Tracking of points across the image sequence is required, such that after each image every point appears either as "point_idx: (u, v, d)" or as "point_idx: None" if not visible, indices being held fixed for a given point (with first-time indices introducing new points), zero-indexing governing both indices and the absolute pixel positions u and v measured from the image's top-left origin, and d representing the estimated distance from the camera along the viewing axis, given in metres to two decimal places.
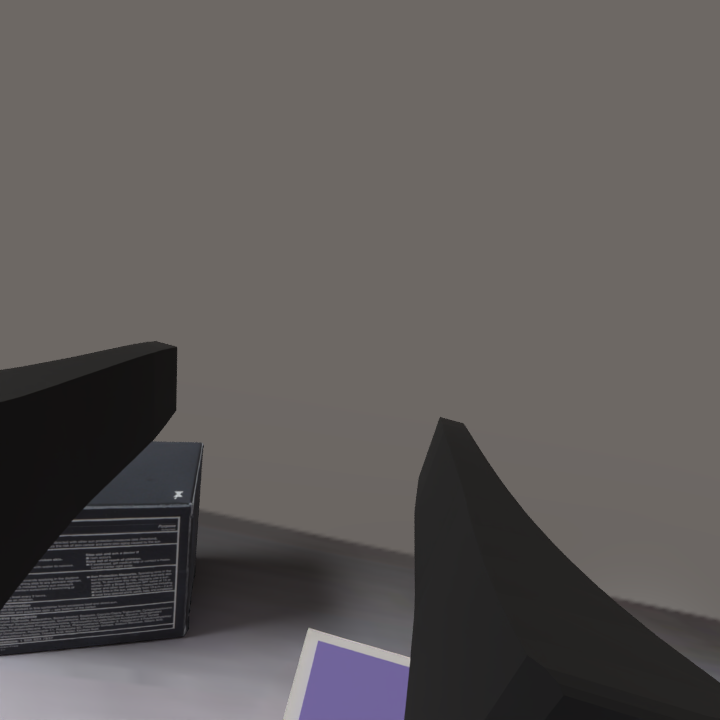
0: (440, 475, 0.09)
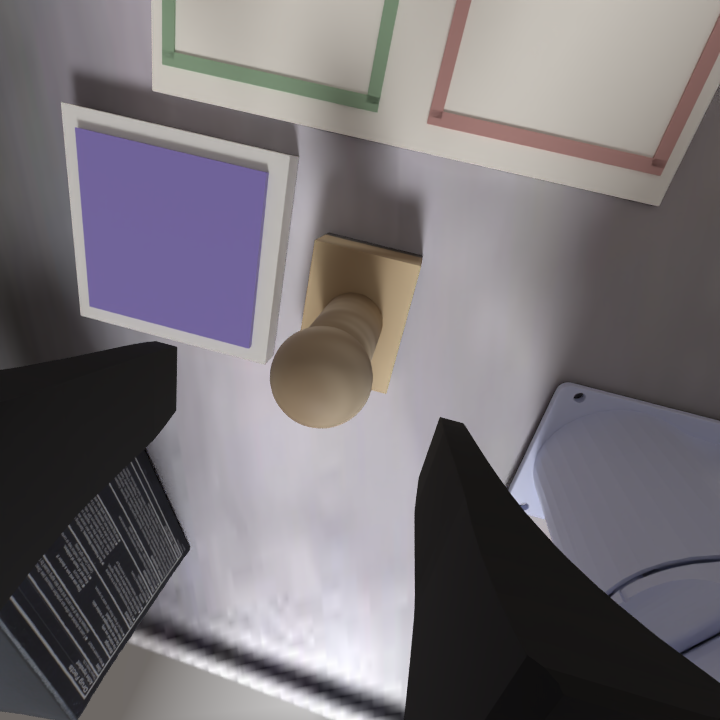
0: (440, 475, 0.09)
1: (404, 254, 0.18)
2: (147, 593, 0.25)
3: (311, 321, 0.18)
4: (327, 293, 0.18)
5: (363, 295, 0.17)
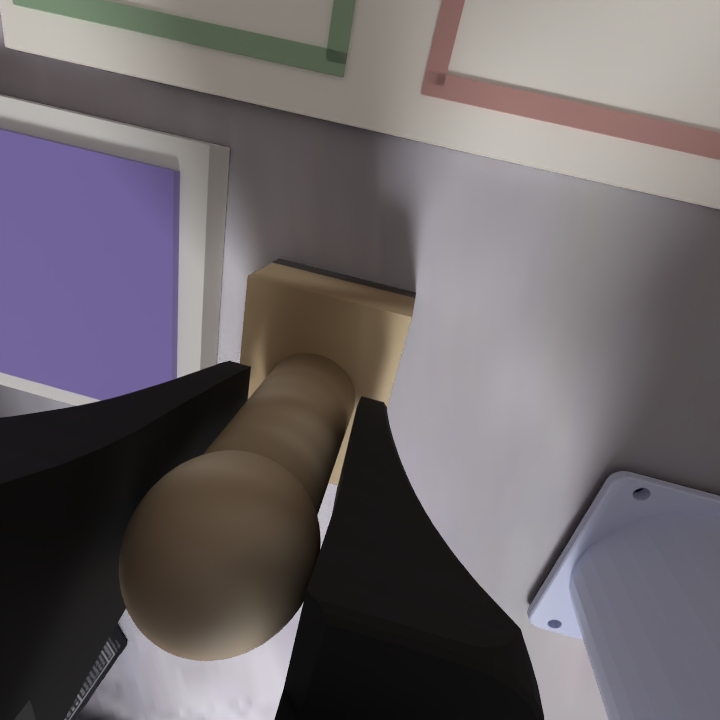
0: (347, 450, 0.09)
1: (388, 293, 0.12)
2: None
3: (250, 392, 0.12)
4: (271, 353, 0.12)
5: (325, 358, 0.11)
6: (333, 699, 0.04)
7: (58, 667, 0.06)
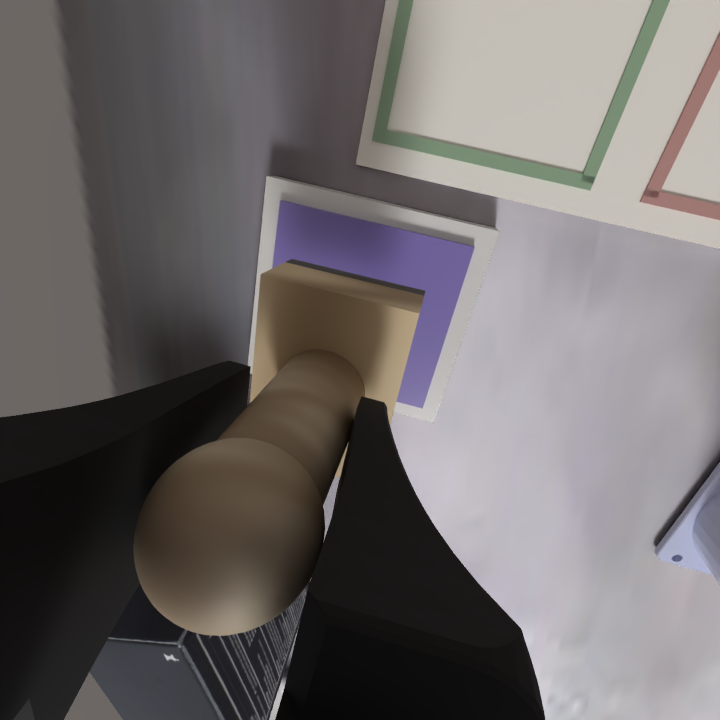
0: (348, 450, 0.09)
1: (397, 290, 0.12)
2: (288, 639, 0.25)
3: (263, 387, 0.13)
4: (283, 350, 0.12)
5: (335, 354, 0.12)
6: (334, 699, 0.04)
7: (57, 667, 0.06)
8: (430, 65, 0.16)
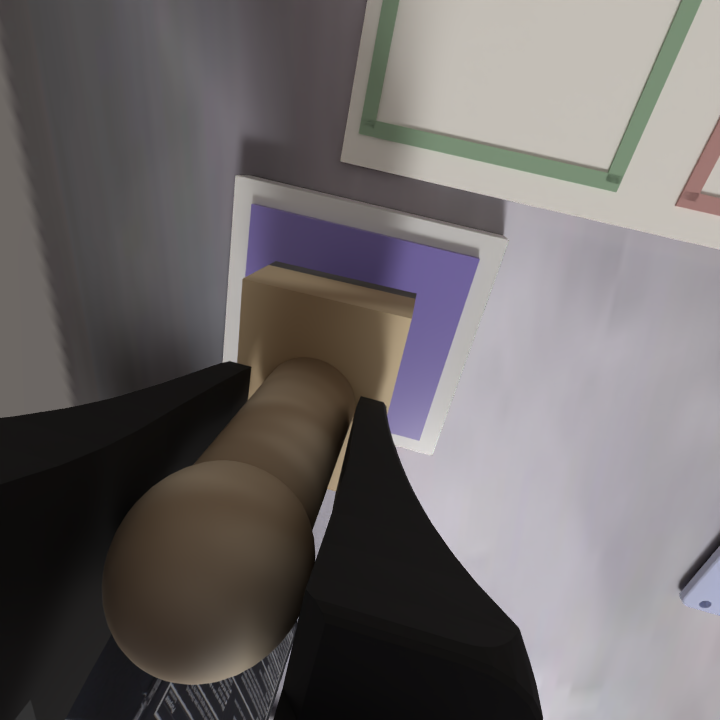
0: (347, 450, 0.09)
1: (388, 294, 0.12)
2: (271, 690, 0.23)
3: (248, 398, 0.12)
4: (268, 358, 0.11)
5: (324, 362, 0.11)
6: (331, 699, 0.04)
7: (59, 667, 0.06)
8: (427, 43, 0.13)
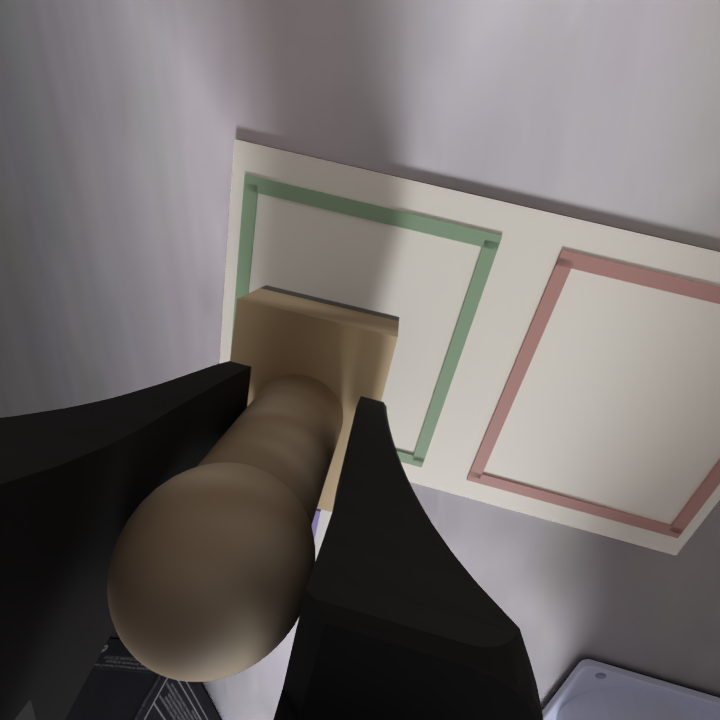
0: (347, 450, 0.09)
1: (373, 316, 0.12)
2: None
3: None
4: (259, 375, 0.12)
5: (313, 378, 0.12)
6: (332, 698, 0.04)
7: (58, 667, 0.06)
8: None
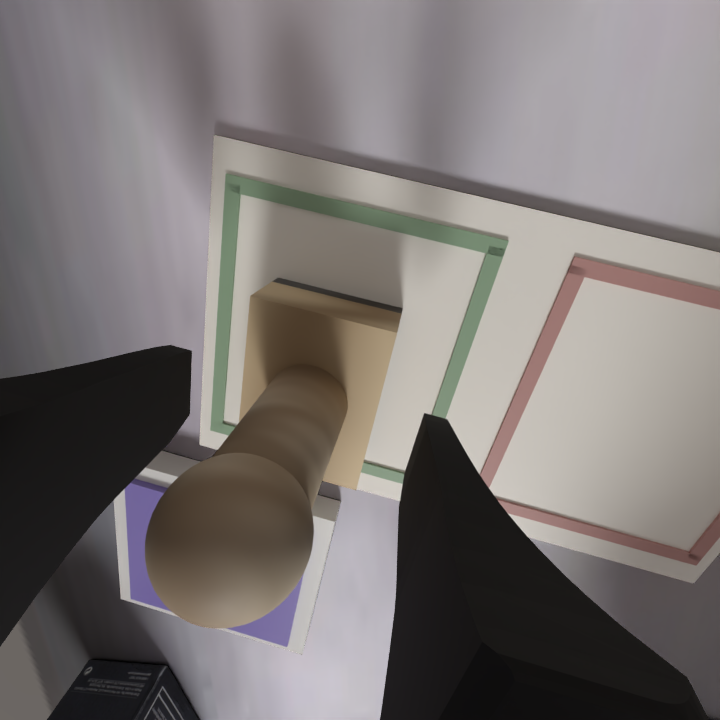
0: (422, 470, 0.09)
1: (377, 309, 0.13)
2: None
3: (253, 399, 0.14)
4: (271, 365, 0.13)
5: (320, 368, 0.13)
6: None
7: None
8: None
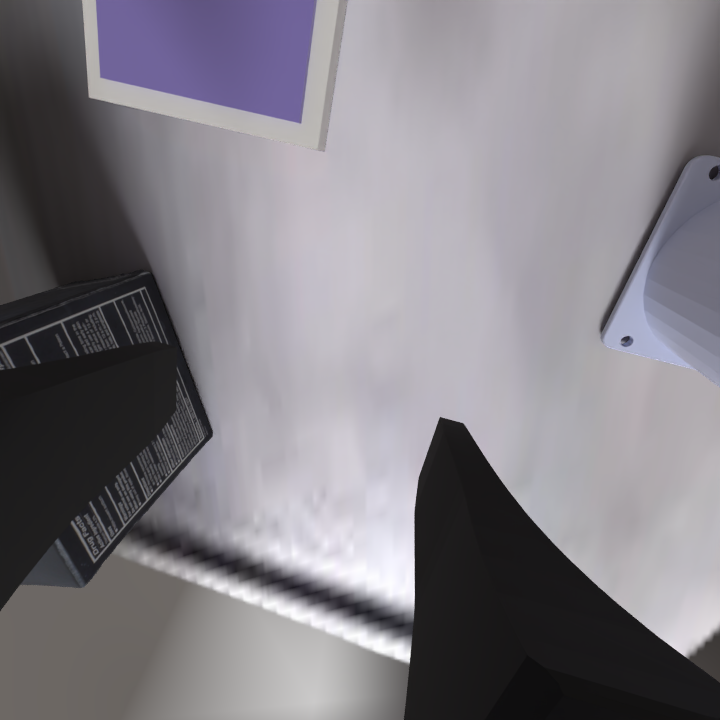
0: (441, 475, 0.09)
1: None
2: (166, 466, 0.21)
3: None
4: None
5: None
6: None
7: None
8: None
